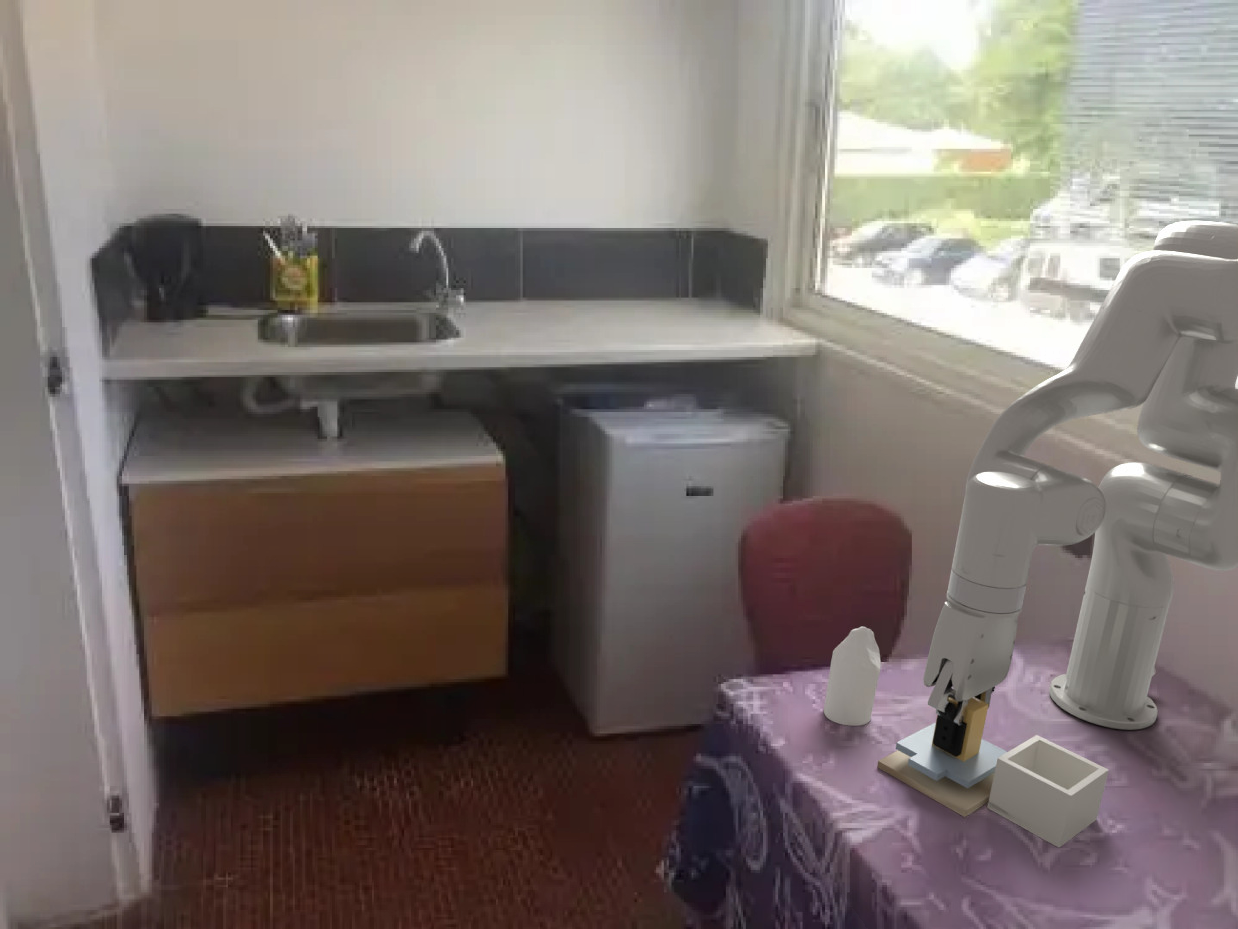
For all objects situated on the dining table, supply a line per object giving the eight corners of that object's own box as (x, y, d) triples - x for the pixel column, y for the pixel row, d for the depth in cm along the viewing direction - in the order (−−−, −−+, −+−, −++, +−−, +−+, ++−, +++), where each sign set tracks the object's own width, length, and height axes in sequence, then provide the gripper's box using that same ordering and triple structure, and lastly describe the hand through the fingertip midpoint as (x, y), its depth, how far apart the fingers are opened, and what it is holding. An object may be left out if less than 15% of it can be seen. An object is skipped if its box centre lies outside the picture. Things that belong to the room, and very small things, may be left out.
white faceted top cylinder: (866, 611, 130) (898, 630, 125) (852, 699, 133) (882, 722, 129) (826, 617, 127) (857, 638, 122) (813, 708, 131) (842, 731, 126)
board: (938, 734, 127) (939, 728, 127) (1024, 779, 119) (1025, 773, 119) (877, 767, 119) (878, 760, 119) (964, 817, 111) (966, 810, 111)
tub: (1026, 783, 118) (1036, 735, 117) (1096, 819, 113) (1108, 769, 111) (987, 808, 113) (997, 758, 111) (1059, 847, 108) (1071, 796, 106)
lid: (941, 725, 124) (951, 672, 122) (1012, 761, 118) (1024, 706, 116) (886, 753, 118) (896, 697, 116) (959, 793, 111) (970, 735, 109)
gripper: (994, 563, 121) (966, 709, 126) (910, 594, 110) (882, 752, 115) (1058, 586, 115) (1025, 738, 121) (975, 622, 105) (943, 786, 110)
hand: (956, 743), depth 118 cm, fingers closed on lid, 3 cm apart
